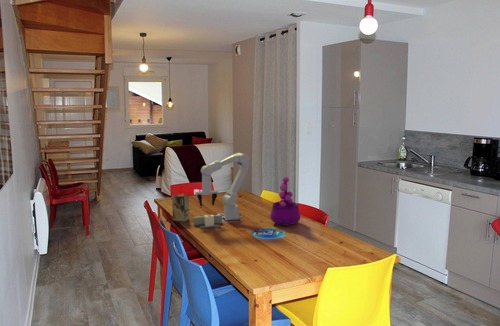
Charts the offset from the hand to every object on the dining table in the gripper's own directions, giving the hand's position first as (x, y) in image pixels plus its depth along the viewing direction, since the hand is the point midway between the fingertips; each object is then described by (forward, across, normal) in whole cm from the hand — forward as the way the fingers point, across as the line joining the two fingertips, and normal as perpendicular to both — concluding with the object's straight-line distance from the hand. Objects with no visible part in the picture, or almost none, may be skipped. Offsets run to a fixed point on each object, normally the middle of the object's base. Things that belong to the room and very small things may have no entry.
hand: (207, 205), depth 266 cm
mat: (+10, -1, -10) cm, 15 cm away
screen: (+10, -1, -5) cm, 12 cm away
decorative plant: (+11, +46, -19) cm, 51 cm away
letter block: (+10, -1, -10) cm, 14 cm away
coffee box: (+11, -16, +9) cm, 21 cm away
